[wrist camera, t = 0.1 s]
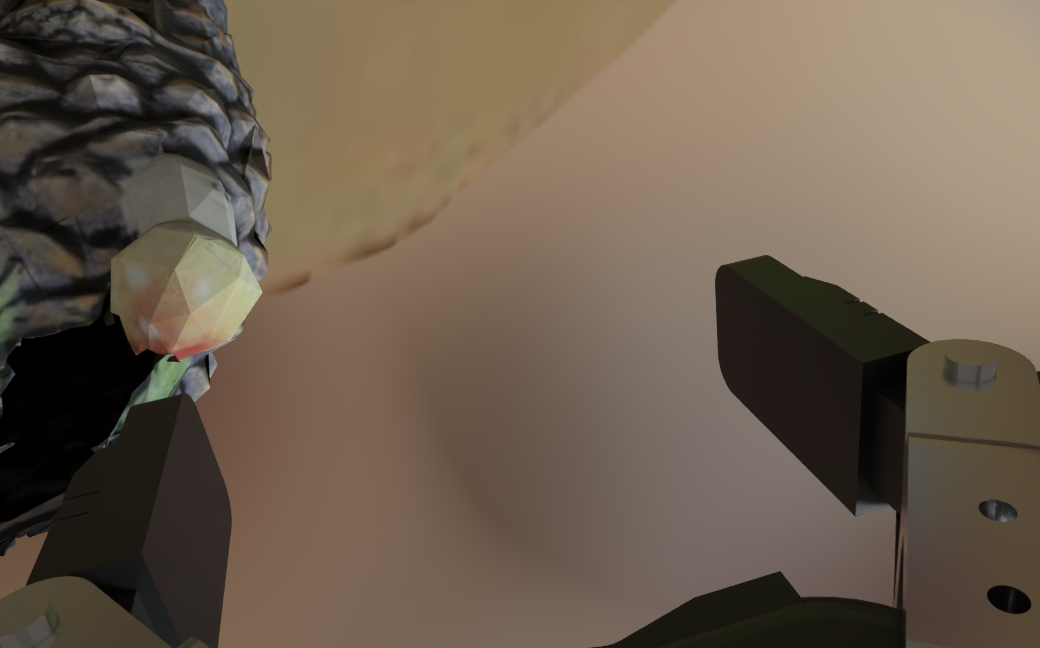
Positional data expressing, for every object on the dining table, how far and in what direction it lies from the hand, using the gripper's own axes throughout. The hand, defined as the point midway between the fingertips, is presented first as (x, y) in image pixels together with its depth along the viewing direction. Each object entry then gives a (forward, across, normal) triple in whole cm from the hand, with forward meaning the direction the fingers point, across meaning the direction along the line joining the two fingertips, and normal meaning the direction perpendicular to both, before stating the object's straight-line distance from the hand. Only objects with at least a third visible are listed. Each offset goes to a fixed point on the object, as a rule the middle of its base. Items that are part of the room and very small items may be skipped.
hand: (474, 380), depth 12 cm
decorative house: (+33, +13, -2) cm, 36 cm away
